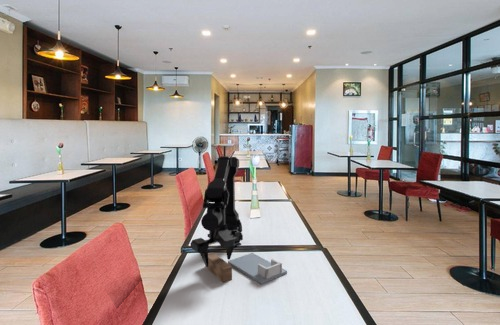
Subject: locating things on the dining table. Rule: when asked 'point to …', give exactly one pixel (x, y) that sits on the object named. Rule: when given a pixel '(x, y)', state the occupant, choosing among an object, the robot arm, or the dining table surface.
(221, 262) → the brown wooden block
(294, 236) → the dining table surface
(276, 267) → the bracket
